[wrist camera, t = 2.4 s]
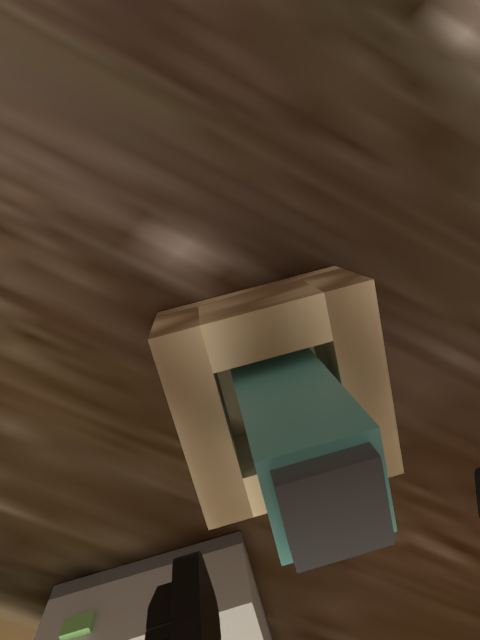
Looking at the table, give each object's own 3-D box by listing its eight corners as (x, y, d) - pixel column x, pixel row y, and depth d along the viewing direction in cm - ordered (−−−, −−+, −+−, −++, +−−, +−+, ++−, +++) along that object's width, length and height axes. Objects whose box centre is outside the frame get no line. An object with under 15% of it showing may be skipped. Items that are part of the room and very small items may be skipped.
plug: (297, 335, 22) (392, 440, 12) (311, 401, 23) (409, 550, 13) (226, 355, 22) (258, 479, 12) (243, 419, 23) (287, 587, 13)
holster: (334, 265, 23) (374, 279, 18) (363, 424, 25) (404, 473, 20) (157, 312, 22) (147, 339, 17) (205, 469, 25) (208, 530, 20)
